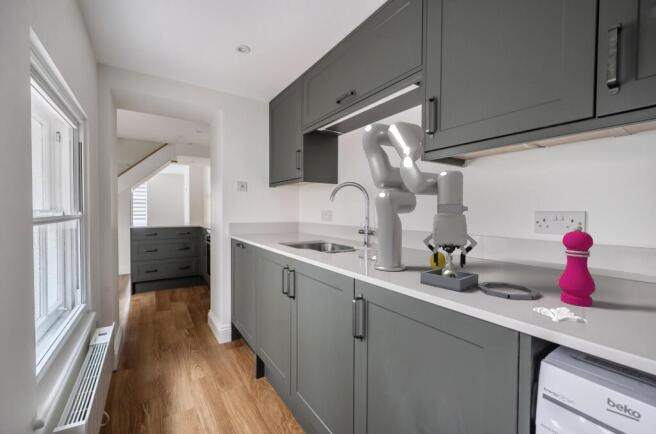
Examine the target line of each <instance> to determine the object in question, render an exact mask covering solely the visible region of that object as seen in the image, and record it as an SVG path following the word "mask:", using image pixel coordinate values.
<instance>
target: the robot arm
mask: <svg viewBox="0 0 656 434" xmlns="http://www.w3.org/2000/svg"><path fill="white" fill-rule="evenodd" d="M424 133H425V132H424V130H423V128H422V127H421V126H420V125H418V124H417V123H411V122H405V121H397V122H396V121H395V122H394V123H392V124H384V123H378V122H375V123H370V124H367V126H366V127H365V128H364V130H363V131H362V137H361V146H362V151H363V152H364V154H365V157H366V159H367V162H368V166H369V170H370V173H371V178H372V180H373V185H374V187H376V188H377V189H379V190H381V191H380V192H379V193H377V195H376V197H375V199H374V202H375V203H374V205H375V210H376V215H377V255H373V256H372V257H371V261H374V262H375V263H374V264H373V269H375V270H378V271H383V272H385V271H386V272H399V271H404V270H405V269H406V268H407V267H406V265H405V264H403V263H402V259H403V258H402V257H403V256H402V253H403V252H402V251H403V248H402V244H403V243H402V242H403V238H402V236H403V234H402V233H403V227H402V226H403V225H402V221H401V217H400V216H399V215H402V214H403V215H404V214H411V213H412V212H414V210H415V209H416V208H417V196H436V197H437V198H436V200H437V202H436V203H437V205H436V208H437V210H436V211H437V213H436V214H434V215H433V216H434V217H433V223H432V233H431V234H429V235H428V236H427V237H426V238H424V239H423V241H422V242H423V244H424V245H425V246H426V247H427V248H428V249H429V250H430V251H431V252H432V254H433V253H434V263H436V266H438V251H439V249H440V248H439V245H441V246H443V245H448V246H456V245H458V246H460V249H459V250H460V251H461V252H460V254H459V261H460V262H459V265H460V268H461V269H462V268H464V266H465V265H466V263H467V260H466V257H467V256H466V255H468V253H470V252H471V251H472V250H473V249H474V248H475V247H476V246H477V245H478V242H477V241H476V240H475V239H474V238H472V237H471V236H470V235H469V234H468V227H467V226H468V225H467V217H466V214H464V212H468V211H469V207H468V206H466V205H464V199H463V198H464V174H463V172H462V171H459V170H444V171H440V172H438V173H437V172H436V173H434V172H423V171H421V170H420V169H419V166H418V165H417V164H416V161H417V162H418V160H419V159H421V157H422V156H423V154H424V147H423V145H422V142H423V141H424V138H425V137H424V136H425V134H424ZM382 146H385V147H392V148H393V147H394V150H395V151H396V153H397V154H398V156H399V158H400V159H401V161H400V163H399V167H397V166H393V165H392V164H391V162H390V158H389V156H388V154H387V152H386V151H385V149H384V148H383V147H382ZM416 195H417V196H416ZM431 240H432V242H433V243H432V244H433V245H434V246H433V245H432V244H431V243H430V241H431ZM468 242H470V244H469V245H468V246H466V245H467V244H468ZM465 246H466V247H465Z"/></svg>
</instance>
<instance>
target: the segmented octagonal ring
mask: <svg viewBox="0 0 656 434" xmlns="http://www.w3.org/2000/svg"><path fill="white" fill-rule="evenodd" d="M489 287H497V288H498V287H501V288H503V287H506V288H511V289H516V290H521V291H524V292H527V293H523V294H522V293H506V292H503V291H496V290H492V289H489ZM476 289H477V290H478V291H480V292H481V293H482V294H485V295H488V296H493V297H497V298H502V299H506V300H508V299H509V300H519V301H520V300H525V301H526V300H527V301H532V300H533V301H534V300H536V298H539V297H540V296H541V292H540V291H539V290H537V289H535V288H533V287H531V286H527V285H523V284H517V283H511V282H505V281H504V282H503V281H484V282H481V283H478V285H477V286H476Z"/></svg>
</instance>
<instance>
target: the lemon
mask: <svg viewBox="0 0 656 434" xmlns="http://www.w3.org/2000/svg"><path fill="white" fill-rule="evenodd" d="M429 259H430V261H429V263H430V266H431V268H432V270H433V269H437V268H445V267H444V264H445V263H446V262H447V260H446V257H445V255H444V254H443V252H440V251H439V250H438V266H436V263H434V253H433V252H432V254H431V256H430V258H429Z"/></svg>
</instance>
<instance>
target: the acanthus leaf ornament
mask: <svg viewBox="0 0 656 434" xmlns="http://www.w3.org/2000/svg"><path fill="white" fill-rule="evenodd" d="M532 310H533V312H536V313H538V314H542V315H544V316H548V317H551V320H552V321H553V322H557V323H561V322H562V321H569V322H575V323H585V324H590V321H589V320H587V319H585V318H583V317H581V316H578V315H575V313H574V312H572V311H571V310H570V309H569V308H567V307H566V306H565V307H564V306H562V307H557V308H550V309H549V308H546V307H542V306H541V307H533V308H532Z"/></svg>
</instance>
